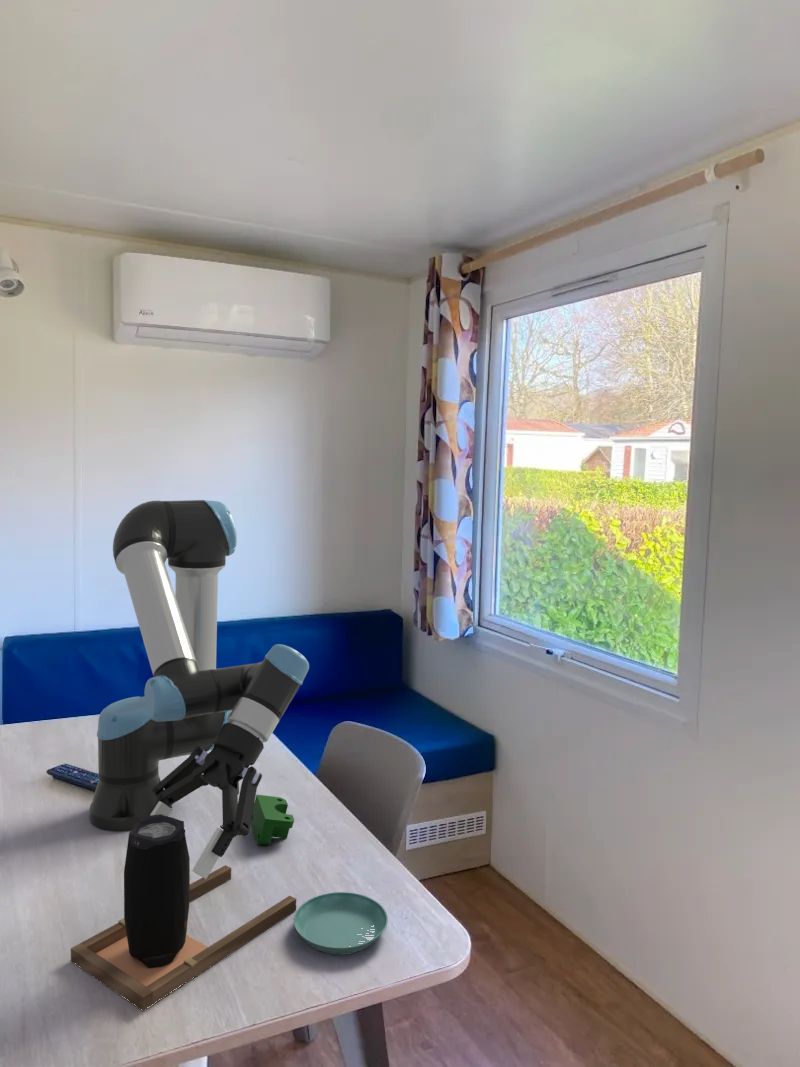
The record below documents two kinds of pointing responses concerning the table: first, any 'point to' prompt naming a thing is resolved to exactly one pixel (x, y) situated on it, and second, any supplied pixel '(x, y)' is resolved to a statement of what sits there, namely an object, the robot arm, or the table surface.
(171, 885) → the portable speaker
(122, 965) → the flat panel
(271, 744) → the table surface
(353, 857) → the table surface
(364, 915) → the saucer
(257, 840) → the clamp
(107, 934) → the rail track
